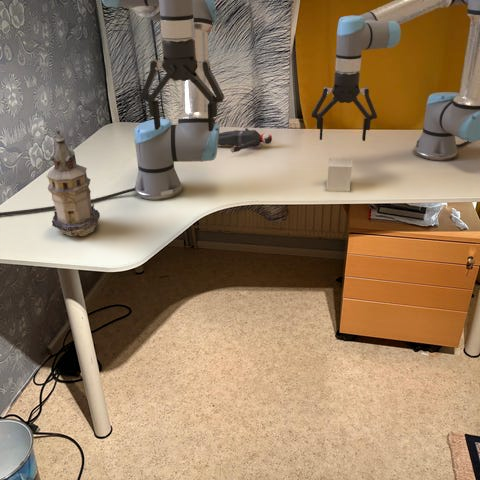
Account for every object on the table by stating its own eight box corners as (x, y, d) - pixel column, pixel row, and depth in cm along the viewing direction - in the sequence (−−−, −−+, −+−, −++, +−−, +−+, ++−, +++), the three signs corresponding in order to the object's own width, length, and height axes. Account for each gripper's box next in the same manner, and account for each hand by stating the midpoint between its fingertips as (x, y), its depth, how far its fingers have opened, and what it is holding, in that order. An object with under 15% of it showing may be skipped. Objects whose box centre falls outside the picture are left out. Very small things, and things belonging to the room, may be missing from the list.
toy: (206, 121, 227) (276, 121, 221) (207, 135, 230) (276, 136, 224) (189, 141, 205) (266, 142, 199) (190, 156, 208) (267, 158, 202)
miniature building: (80, 214, 164) (63, 117, 149) (111, 225, 157) (96, 125, 142) (44, 231, 154) (22, 130, 140) (75, 244, 147) (55, 139, 133)
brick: (348, 182, 183) (350, 158, 178) (349, 191, 176) (351, 167, 172) (326, 181, 183) (328, 157, 179) (326, 190, 177) (328, 166, 173)
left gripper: (234, 36, 124) (236, 125, 135) (131, 35, 127) (140, 122, 138) (229, 41, 118) (231, 135, 128) (120, 40, 121) (131, 131, 131)
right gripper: (388, 69, 164) (380, 136, 174) (306, 68, 167) (303, 134, 177) (390, 74, 157) (382, 143, 168) (305, 73, 160) (302, 141, 171)
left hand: (184, 128), depth 133 cm, fingers open, 13 cm apart
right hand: (342, 139), depth 173 cm, fingers open, 13 cm apart
